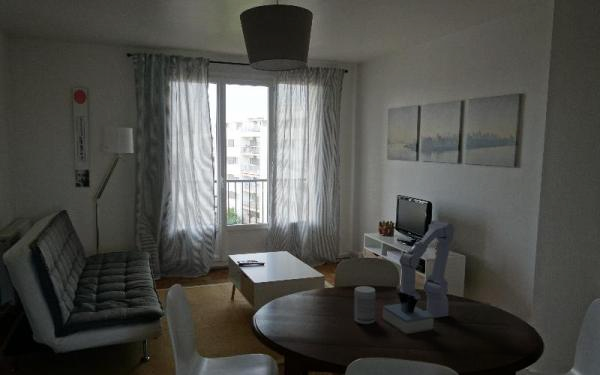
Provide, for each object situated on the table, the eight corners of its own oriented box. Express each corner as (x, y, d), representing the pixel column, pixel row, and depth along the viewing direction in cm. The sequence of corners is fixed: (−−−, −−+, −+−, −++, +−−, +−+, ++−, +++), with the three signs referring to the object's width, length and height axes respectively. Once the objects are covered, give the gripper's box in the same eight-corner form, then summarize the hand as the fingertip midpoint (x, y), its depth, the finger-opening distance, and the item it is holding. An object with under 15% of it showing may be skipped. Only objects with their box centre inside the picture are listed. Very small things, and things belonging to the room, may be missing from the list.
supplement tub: (379, 322, 203) (380, 290, 202) (363, 326, 198) (364, 294, 197) (365, 315, 211) (365, 284, 210) (349, 319, 206) (350, 288, 205)
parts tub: (408, 314, 212) (408, 304, 212) (432, 329, 196) (433, 318, 195) (382, 318, 207) (383, 308, 207) (405, 334, 191) (406, 322, 190)
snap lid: (408, 306, 212) (408, 295, 212) (433, 320, 195) (433, 308, 195) (382, 310, 207) (383, 298, 206) (406, 325, 190) (406, 312, 190)
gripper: (391, 276, 205) (390, 305, 206) (410, 286, 191) (409, 317, 193) (404, 275, 207) (403, 303, 209) (424, 284, 194) (423, 314, 195)
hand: (407, 310), depth 201 cm, fingers open, 5 cm apart
